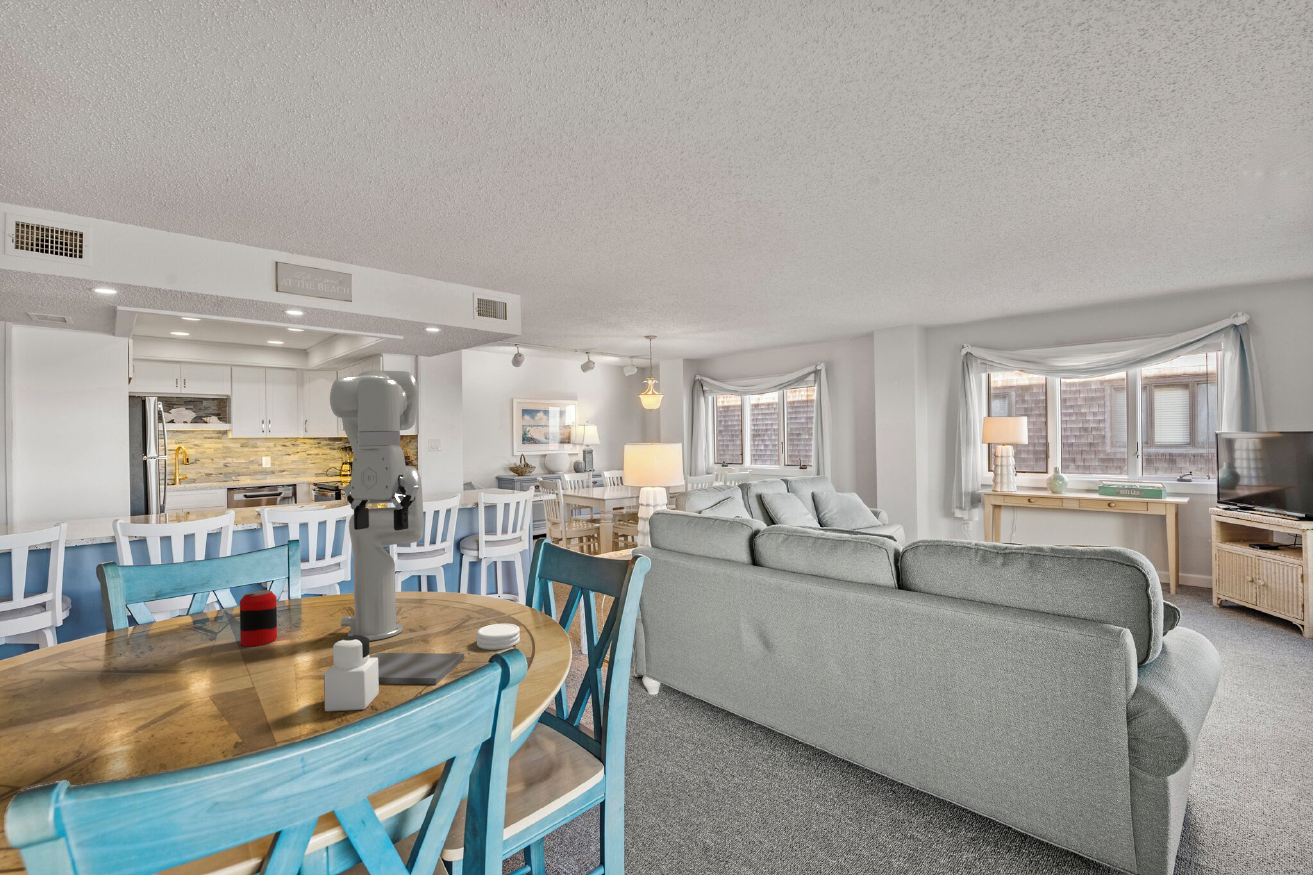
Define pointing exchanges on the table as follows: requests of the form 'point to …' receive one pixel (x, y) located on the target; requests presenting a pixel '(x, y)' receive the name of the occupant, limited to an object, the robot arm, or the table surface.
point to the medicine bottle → (351, 676)
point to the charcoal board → (415, 667)
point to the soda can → (258, 618)
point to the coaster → (498, 636)
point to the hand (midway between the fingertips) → (381, 529)
